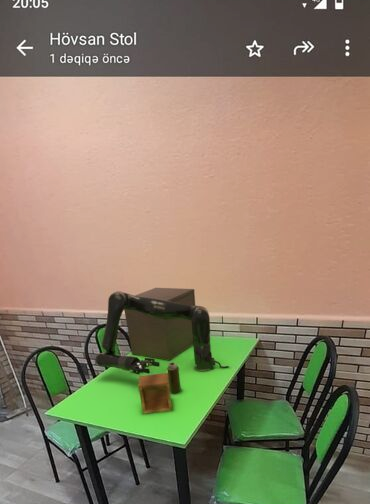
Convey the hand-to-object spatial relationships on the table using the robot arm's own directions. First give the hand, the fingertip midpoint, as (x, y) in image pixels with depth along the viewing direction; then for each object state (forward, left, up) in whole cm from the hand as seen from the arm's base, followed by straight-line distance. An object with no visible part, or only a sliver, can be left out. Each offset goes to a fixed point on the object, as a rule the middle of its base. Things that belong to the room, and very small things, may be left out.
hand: (154, 367), depth 165 cm
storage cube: (-6, -56, -11) cm, 57 cm away
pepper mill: (-9, +6, -11) cm, 16 cm away
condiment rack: (0, +19, -11) cm, 22 cm away
